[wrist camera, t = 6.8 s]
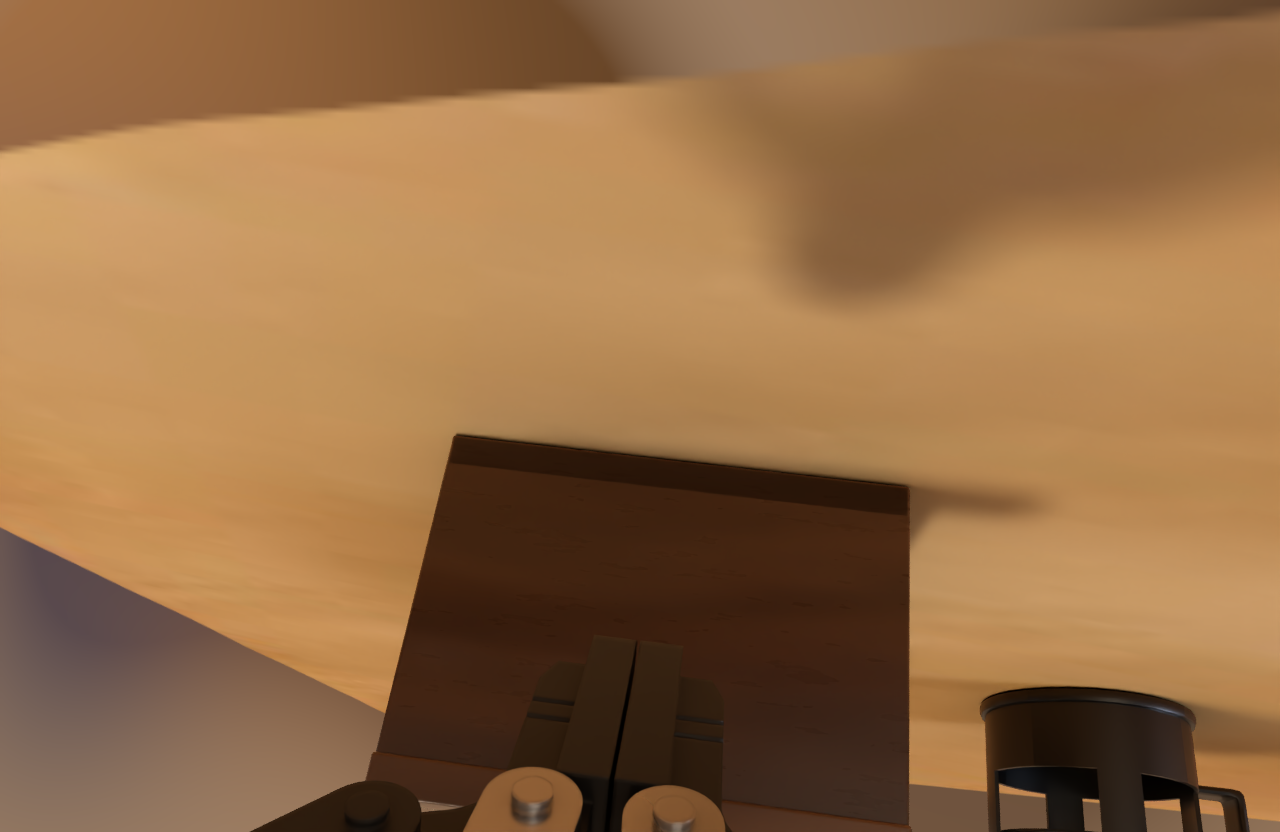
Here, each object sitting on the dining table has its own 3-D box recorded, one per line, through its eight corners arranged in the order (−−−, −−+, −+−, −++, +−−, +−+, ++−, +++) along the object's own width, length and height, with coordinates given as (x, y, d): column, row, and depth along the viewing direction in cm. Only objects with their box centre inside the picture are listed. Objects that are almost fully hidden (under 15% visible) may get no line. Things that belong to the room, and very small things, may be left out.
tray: (451, 429, 27) (360, 793, 23) (912, 481, 27) (912, 872, 22) (527, 613, 44) (483, 846, 39) (813, 649, 43) (802, 892, 39)
